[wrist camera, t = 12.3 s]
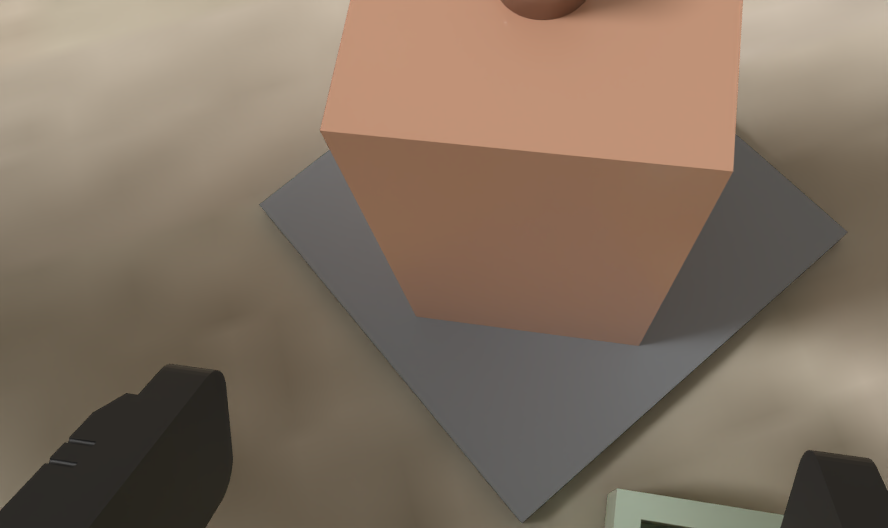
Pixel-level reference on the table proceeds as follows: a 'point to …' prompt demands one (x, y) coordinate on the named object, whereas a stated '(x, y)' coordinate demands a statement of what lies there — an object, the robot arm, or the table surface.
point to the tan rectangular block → (537, 151)
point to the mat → (552, 356)
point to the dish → (679, 513)
